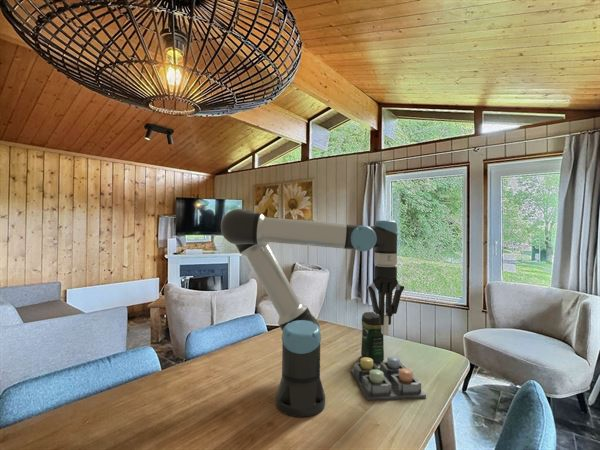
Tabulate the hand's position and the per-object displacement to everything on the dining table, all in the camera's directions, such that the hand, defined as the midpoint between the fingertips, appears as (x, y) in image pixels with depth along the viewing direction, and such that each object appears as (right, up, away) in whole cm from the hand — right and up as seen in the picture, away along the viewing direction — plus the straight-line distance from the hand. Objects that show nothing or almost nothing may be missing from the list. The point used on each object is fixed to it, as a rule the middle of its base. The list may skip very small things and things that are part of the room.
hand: (384, 334), depth 109 cm
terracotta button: (+6, -14, -4) cm, 16 cm away
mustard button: (-5, -14, +5) cm, 16 cm away
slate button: (+5, -14, +6) cm, 16 cm away
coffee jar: (+1, -18, +21) cm, 28 cm away
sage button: (-4, -14, -5) cm, 15 cm away
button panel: (0, -17, +1) cm, 17 cm away
